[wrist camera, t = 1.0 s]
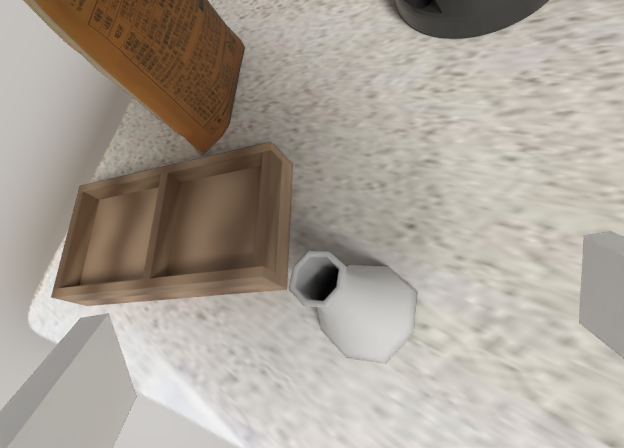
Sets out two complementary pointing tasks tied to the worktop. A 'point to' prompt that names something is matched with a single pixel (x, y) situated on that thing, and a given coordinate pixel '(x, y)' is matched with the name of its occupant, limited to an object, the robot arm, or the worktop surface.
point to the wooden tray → (181, 231)
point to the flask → (356, 304)
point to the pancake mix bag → (158, 57)
